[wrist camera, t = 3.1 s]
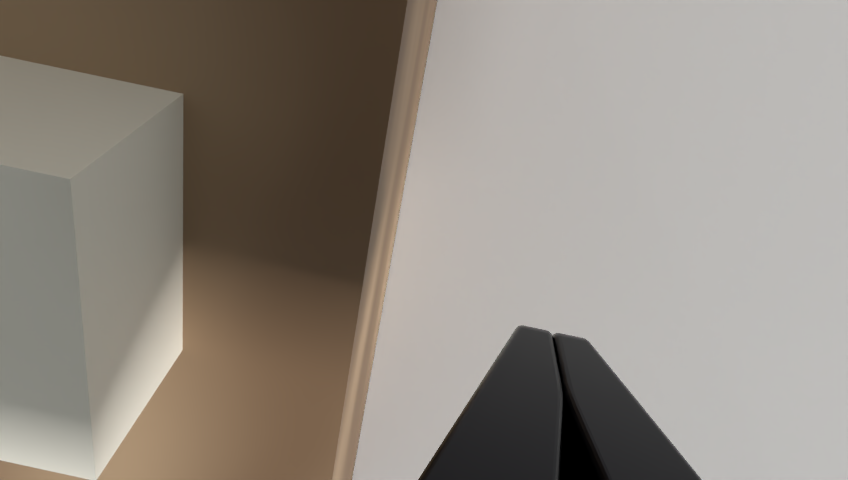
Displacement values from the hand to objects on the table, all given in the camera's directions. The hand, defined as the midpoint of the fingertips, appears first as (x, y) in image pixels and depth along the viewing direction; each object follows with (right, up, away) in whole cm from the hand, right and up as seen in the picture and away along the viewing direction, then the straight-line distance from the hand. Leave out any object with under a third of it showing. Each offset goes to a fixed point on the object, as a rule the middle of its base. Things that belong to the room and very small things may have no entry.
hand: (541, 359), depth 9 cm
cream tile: (-7, +2, +1) cm, 7 cm away
